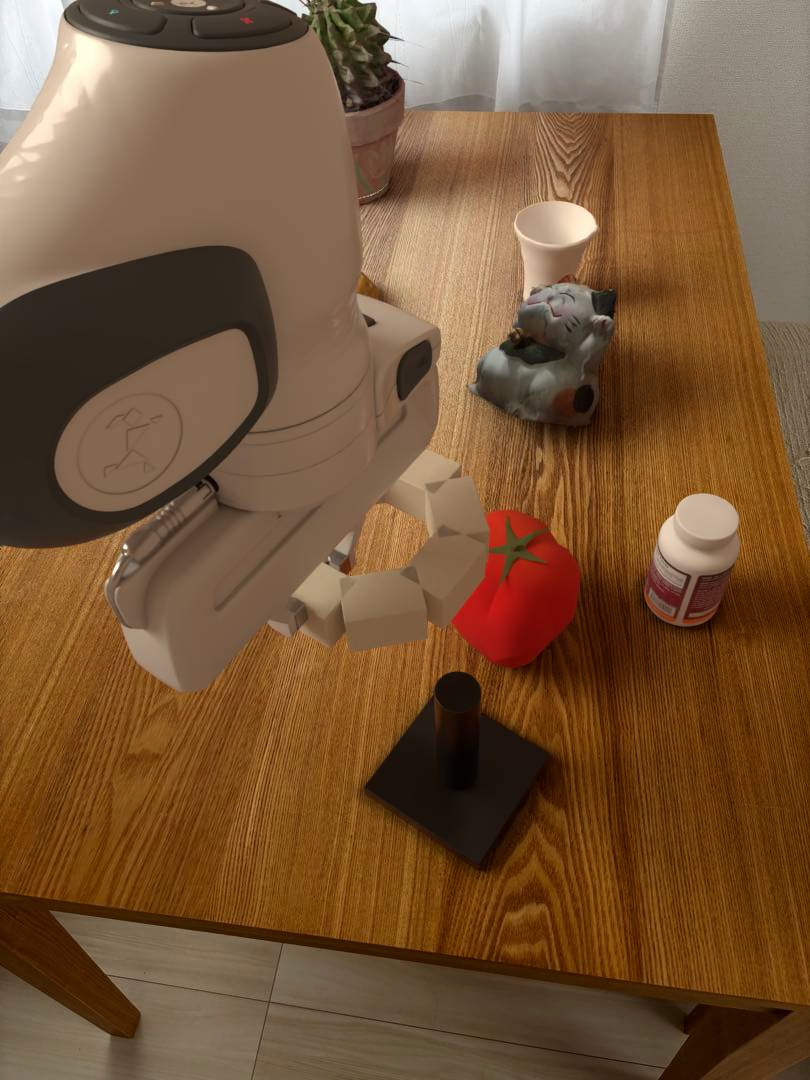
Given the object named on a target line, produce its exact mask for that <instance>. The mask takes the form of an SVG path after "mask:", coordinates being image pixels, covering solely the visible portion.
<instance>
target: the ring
mask: <svg viewBox="0 0 810 1080" xmlns="http://www.w3.org/2000/svg"><path fill="white" fill-rule="evenodd" d="M462 465H463V464H461V463H459V462H457V461H455V460H453V459H451V458H448V457H447V456H444V455H442V454H440V453H437V452H436V451H433V450H431V449H428V447H427V448H426V450H425V451H424V452H423V453H422V454H421V455H420V456H419V457H418V458H417V459H416V460H415V461H414V462H413V463H412V465H411V466H410V467H409V468H408V469H407V470H406V471H405V472H404V473H403V474H402V475H401V477H400V478H399V479H398V480H397V481H396V482H395V483H394V484H393V485H392V486H391V487H390V489H389V490H388V491H387V492H386V493H385V494H384V495H383V496H382V497H381V498H380V499H379V501H378V502H377V503H376V504H375V505H374V506H376V505H382V504H387V505H389V506H391V507H393V508H395V509H397V510H399V511H401V512H403V513H405V514H407V515H409V516H411V517H412V518H415V519H416V520H418V521H421V522H422V523H424V524H426V529H427V533H428V536H429V538H428V539H427V541H426V542H424V544H423V545H422V547H421V548H420V549H418V551H417V552H416V554H414V556H413V557H412V558H411V559H410V561H409V562H408V563H407V564H406V565H405V566H403V567H397V568H391V569H384V570H379V571H373V572H367V573H362V574H355V575H348V574H347V575H346V574H344V573H342V572H339V571H337V570H336V569H334V568H332V567H330V566H329V565H328V564H326V563H323V562H322V563H321V564H320V565H319V566H318V567H317V568H316V569H315V570H314V571H313V573H312V574H311V575H310V576H309V577H308V578H307V579H306V580H305V581H304V582H303V583H302V585H301V586H300V587H299V588H298V589H297V590H296V591H295V592H294V593H293V594H292V595H291V597H290V598H297V599H299V600H300V601H302V602H304V603H305V604H306V611H307V612H306V614H307V616H308V619H307V620H306V622H305V623H304V624H303V625H302V626H301V628H300V629H299V630H298V631H299V632H301V633H302V634H304V635H306V636H307V637H309V638H311V639H313V640H314V641H316V642H318V643H319V644H321V645H323V646H324V647H326V648H328V649H329V650H332V649H333V647H334V646H335V645H336V644H337V643H338V642H339V640H341V638H342V637H343V636H344V635H346V640H347V647H348V652H349V653H356V652H362V651H368V650H373V649H379V648H384V647H390V646H396V645H397V646H398V645H403V644H407V643H414V642H418V641H424V640H428V639H429V633H428V632H429V629H428V628H429V627H428V622H429V623H431V624H433V625H434V626H436V627H438V628H440V629H442V630H445V629H446V628H447V627H448V625H449V624H450V623H451V620H452V619H453V617H454V616H455V615H456V614H457V612H458V611H459V610H460V608H461V607H462V606H463V605H464V603H465V602H466V601H467V599H468V598H469V597H470V596H471V594H472V593H473V592H474V590H475V589H476V588H477V587H478V585H479V584H480V583H481V581H482V580H483V579H484V578H485V564H486V563H487V562H488V551H489V534H490V530H489V527H488V523H487V520H486V517H485V516H486V513H485V511H484V508H483V505H482V502H481V498H480V494H479V492H478V490H477V485H476V482H475V480H474V476H473V475H466V476H462V468H463V467H462Z"/></svg>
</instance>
